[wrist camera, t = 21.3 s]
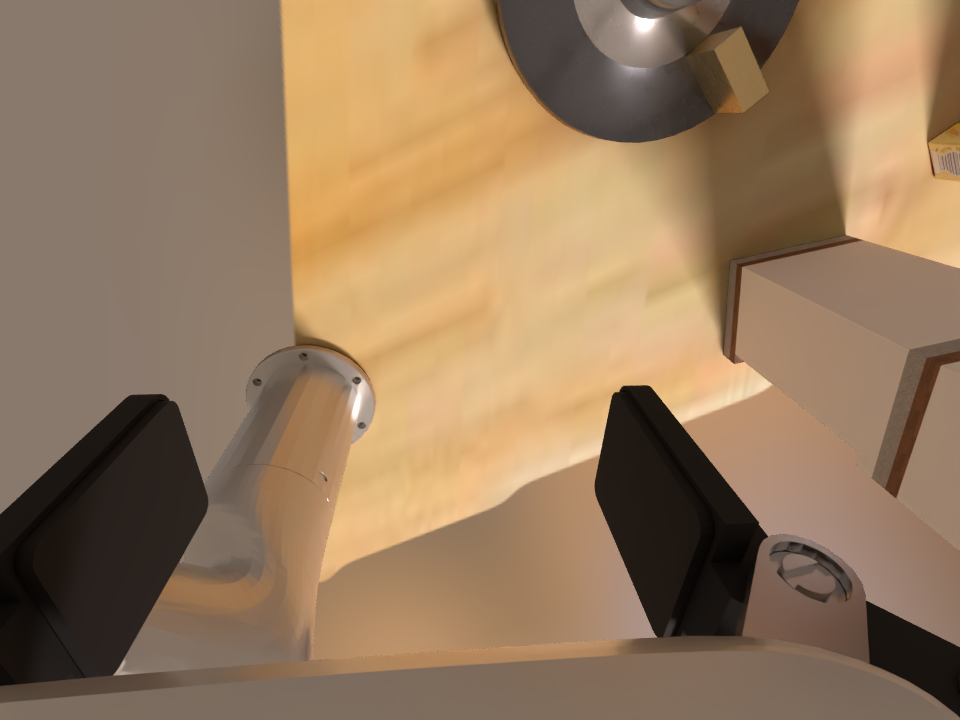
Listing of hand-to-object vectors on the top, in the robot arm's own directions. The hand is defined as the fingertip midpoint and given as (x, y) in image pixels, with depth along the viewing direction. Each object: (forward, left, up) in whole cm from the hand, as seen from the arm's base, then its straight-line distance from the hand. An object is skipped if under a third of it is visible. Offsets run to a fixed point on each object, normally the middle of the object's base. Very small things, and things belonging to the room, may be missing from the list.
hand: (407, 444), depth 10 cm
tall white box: (-9, -36, -34) cm, 50 cm away
